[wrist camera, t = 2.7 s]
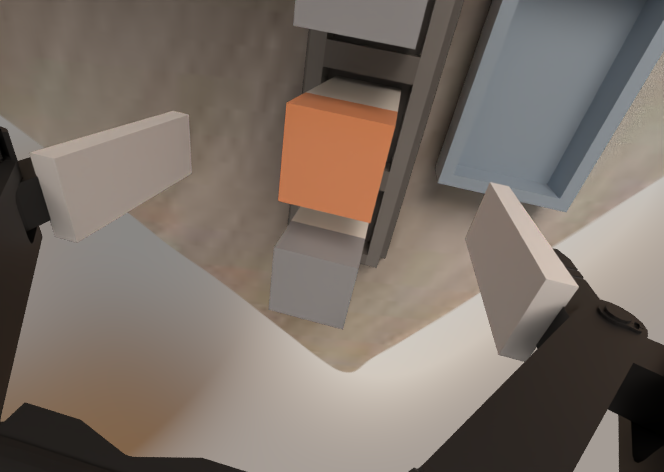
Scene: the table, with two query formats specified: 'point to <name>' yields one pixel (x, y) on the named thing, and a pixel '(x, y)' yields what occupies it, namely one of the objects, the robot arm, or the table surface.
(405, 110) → the block
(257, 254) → the table surface
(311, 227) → the block
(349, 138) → the block
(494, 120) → the tray
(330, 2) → the block
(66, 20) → the table surface
